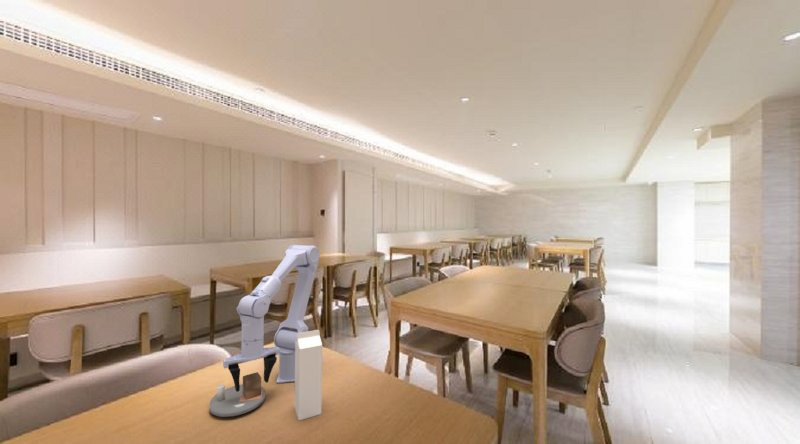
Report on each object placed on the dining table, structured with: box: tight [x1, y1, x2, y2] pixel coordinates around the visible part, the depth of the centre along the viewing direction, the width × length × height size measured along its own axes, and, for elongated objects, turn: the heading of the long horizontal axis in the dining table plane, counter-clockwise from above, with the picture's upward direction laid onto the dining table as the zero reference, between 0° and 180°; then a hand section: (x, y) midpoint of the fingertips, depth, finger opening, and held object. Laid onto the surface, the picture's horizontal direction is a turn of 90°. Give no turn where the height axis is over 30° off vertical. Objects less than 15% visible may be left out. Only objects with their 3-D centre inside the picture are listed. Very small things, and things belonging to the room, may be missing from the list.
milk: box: [293, 329, 323, 421], centre depth 85 cm, size 6×6×22 cm
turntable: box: [208, 383, 266, 418], centre depth 88 cm, size 14×14×5 cm
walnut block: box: [242, 371, 262, 400], centre depth 89 cm, size 4×4×5 cm
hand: (252, 385), depth 89 cm, fingers open, 7 cm apart
